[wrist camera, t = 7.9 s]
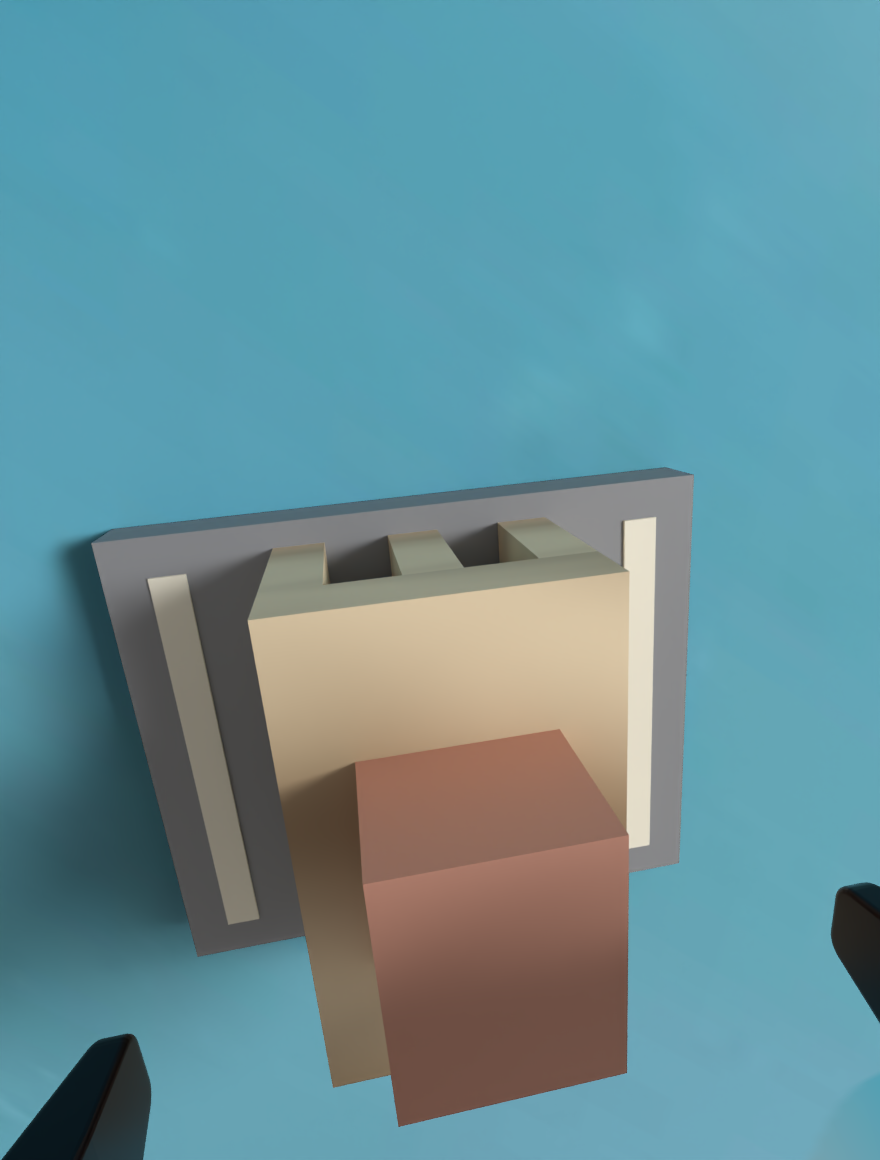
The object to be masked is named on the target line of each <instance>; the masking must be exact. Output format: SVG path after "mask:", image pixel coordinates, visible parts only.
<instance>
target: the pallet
mask: <svg viewBox="0 0 880 1160" xmlns="http://www.w3.org/2000/svg"><path fill="white" fill-rule="evenodd" d="M498 542H499V561H500V563H497V564H489V565H481V566H473V567H465V568H464V567H463V565H462V564H461V563H460V561H459V560H458V558H457V557H456V556H455V554H454V553H453V551H452V550H451V549H450V547H449V546H448V544H447V543H446V542H445V540H444V539H443V537H442V536H441V534H440V533H439V532H438V530H429V531H420V532H412V533H403V534H394V535H388V544H389V553H390V562H391V572H392V577H384V578H376V579H367V580H359V581H351V582H343V583H335V584H330V579H329V572H328V565H327V558H326V550H325V543H316V544H307V545H298V546H290V547H281V548H273V549H272V552H271V555H270V558H269V561H268V563H267V566H266V569H265V572H264V575H263V578H262V581H261V583H260V586H259V589H258V592H257V595H256V598H255V601H254V603H253V606H252V609H251V612H250V615H249V618H248V626H249V631H250V636H251V642H252V647H253V653H254V658H255V664H256V669H257V675H258V680H259V686H260V691H261V696H262V702H263V707H264V713H265V718H266V724H267V729H268V735H269V740H270V746H271V751H272V757H273V762H274V767H275V773H276V778H277V784H278V789H279V795H280V800H281V806H282V811H283V817H284V822H285V827H286V833H287V838H288V844H289V849H290V855H291V860H292V866H293V871H294V877H295V882H296V888H297V893H298V898H299V904H300V909H301V915H302V920H303V926H304V931H305V937H306V942H307V948H308V953H309V958H310V964H311V969H312V975H313V980H314V986H315V991H316V997H317V1002H318V1008H319V1013H320V1019H321V1024H322V1029H323V1035H324V1040H325V1046H326V1051H327V1057H328V1062H329V1068H330V1073H331V1079H332V1084H333V1088H334V1087H338V1086H343V1085H347V1084H352V1083H356V1082H361V1081H365V1080H370V1079H374V1078H379V1077H383V1076H388V1075H391V1072H390V1065H389V1059H388V1052H387V1045H386V1039H385V1032H384V1025H383V1018H382V1012H381V1005H380V998H379V991H378V985H377V978H376V971H375V964H374V958H373V951H372V944H371V937H370V931H369V924H368V917H367V911H366V904H365V897H364V890H363V882H362V866H361V850H360V834H359V817H358V801H357V785H356V769H355V762H359V761H365V760H372V759H378V758H384V757H390V756H396V755H402V754H409V753H415V752H421V751H427V750H433V749H439V748H446V747H452V746H458V745H464V744H470V743H476V742H483V741H489V740H495V739H501V738H507V737H513V736H520V735H526V734H532V733H538V732H544V731H550V730H557V729H560V730H561V732H562V734H563V735H564V737H565V738H566V740H567V741H568V743H569V744H570V746H571V747H572V749H573V750H574V752H575V753H576V755H577V756H578V758H579V759H580V761H581V763H582V764H583V766H584V767H585V769H586V770H587V772H588V773H589V775H590V776H591V778H592V779H593V781H594V782H595V784H596V785H597V787H598V788H599V790H600V792H601V793H602V795H603V796H604V798H605V799H606V801H607V802H608V804H609V805H610V807H611V808H612V810H613V811H614V813H615V814H616V816H617V817H618V819H619V821H620V822H621V824H622V825H623V827H624V828H625V830H626V831H627V746H628V660H629V574H630V571H628V570H626V569H625V568H623V567H622V566H620V565H619V564H617V563H616V562H614V561H612V560H611V559H609V558H608V557H606V556H605V555H603V554H601V553H600V552H598V551H597V550H595V549H594V548H592V547H591V546H589V545H587V544H586V543H584V542H583V541H581V540H580V539H578V538H576V537H575V536H573V535H572V534H570V533H569V532H567V531H566V530H564V529H562V528H561V527H559V526H558V525H556V524H555V523H553V522H551V521H550V520H548V519H547V518H545V517H542V518H533V519H525V520H516V521H507V522H499V523H498Z"/></svg>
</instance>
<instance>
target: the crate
mask: <svg viewBox="0 0 880 1160" xmlns="http://www.w3.org/2000/svg"><path fill="white" fill-rule="evenodd" d="M355 769H356V785H357V801H358V817H359V834H360V850H361V866H362V882H363V890H364V897H365V904H366V911H367V917H368V924H369V931H370V937H371V944H372V951H373V958H374V964H375V971H376V978H377V985H378V991H379V998H380V1005H381V1012H382V1018H383V1025H384V1032H385V1039H386V1045H387V1052H388V1059H389V1065H390V1072H391V1079H392V1086H393V1092H394V1099H395V1106H396V1113H397V1119H398V1126H399V1127H400V1126H404V1125H408V1124H412V1123H417V1122H421V1121H425V1120H429V1119H434V1118H438V1117H442V1116H446V1115H451V1114H455V1113H459V1112H463V1111H468V1110H472V1109H476V1108H480V1107H485V1106H489V1105H493V1104H497V1103H502V1102H506V1101H510V1100H514V1099H519V1098H523V1097H527V1096H531V1095H535V1094H540V1093H544V1092H548V1091H552V1090H557V1089H561V1088H565V1087H569V1086H574V1085H578V1084H582V1083H586V1082H591V1081H595V1080H599V1079H603V1078H608V1077H612V1076H616V1075H620V1074H625V1073H627V1005H628V894H629V834H628V833H627V831H626V830H625V828H624V827H623V825H622V824H621V822H620V821H619V819H618V817H617V816H616V814H615V813H614V811H613V810H612V808H611V807H610V805H609V804H608V802H607V801H606V799H605V798H604V796H603V795H602V793H601V792H600V790H599V788H598V787H597V785H596V784H595V782H594V781H593V779H592V778H591V776H590V775H589V773H588V772H587V770H586V769H585V767H584V766H583V764H582V763H581V761H580V759H579V758H578V756H577V755H576V753H575V752H574V750H573V749H572V747H571V746H570V744H569V743H568V741H567V740H566V738H565V737H564V735H563V734H562V732H561V730H560V729H557V730H550V731H544V732H538V733H532V734H526V735H520V736H513V737H507V738H501V739H495V740H489V741H483V742H476V743H470V744H464V745H458V746H452V747H446V748H439V749H433V750H427V751H421V752H415V753H409V754H402V755H396V756H390V757H384V758H378V759H372V760H365V761H359V762H355Z"/></svg>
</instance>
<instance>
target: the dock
mask: <svg viewBox="0 0 880 1160" xmlns="http://www.w3.org/2000/svg"><path fill="white" fill-rule="evenodd" d="M693 481H694V475H693V474H689V473H685V472H681V471H677V470H674V469H670V468H657V469H648V470H639V471H630V472H621V473H612V474H603V475H594V476H585V477H576V478H567V479H558V480H549V481H540V482H531V483H522V484H513V485H504V486H495V487H486V488H477V489H468V490H459V491H450V492H441V493H432V494H424V495H415V496H406V497H397V498H388V499H379V500H370V501H361V502H352V503H343V504H334V505H325V506H316V507H307V508H298V509H289V510H280V511H271V512H262V513H253V514H244V515H235V516H226V517H217V518H208V519H199V520H190V521H181V522H173V523H164V524H155V525H146V526H137V527H128V528H119V529H112V530H110V531H109V532H107V533H106V534H104V535H103V536H101V537H100V538H98V539H97V540H95V541H94V542H92V543H91V544H92V548H93V552H94V556H95V560H96V564H97V568H98V572H99V576H100V579H101V583H102V587H103V591H104V595H105V599H106V603H107V607H108V610H109V614H110V618H111V622H112V626H113V630H114V634H115V638H116V642H117V645H118V649H119V653H120V657H121V661H122V665H123V669H124V673H125V676H126V680H127V684H128V688H129V692H130V696H131V700H132V704H133V708H134V711H135V715H136V719H137V723H138V727H139V731H140V735H141V739H142V742H143V746H144V750H145V754H146V758H147V762H148V766H149V770H150V774H151V777H152V781H153V785H154V789H155V793H156V797H157V801H158V805H159V808H160V812H161V816H162V820H163V824H164V828H165V832H166V836H167V840H168V843H169V847H170V851H171V855H172V859H173V863H174V867H175V871H176V874H177V878H178V882H179V886H180V890H181V894H182V898H183V902H184V906H185V909H186V913H187V917H188V921H189V925H190V929H191V933H192V937H193V940H194V944H195V948H196V952H197V956H204V955H209V954H214V953H219V952H224V951H229V950H234V949H240V948H245V947H250V946H255V945H260V944H265V943H270V942H276V941H281V940H286V939H291V938H296V937H301V936H305V931H304V926H303V920H302V915H301V909H300V904H299V898H298V893H297V888H296V882H295V877H294V871H293V866H292V860H291V855H290V849H289V844H288V838H287V833H286V827H285V822H284V817H283V811H282V806H281V800H280V795H279V789H278V784H277V778H276V773H275V767H274V762H273V757H272V751H271V746H270V740H269V735H268V729H267V724H266V718H265V713H264V707H263V702H262V696H261V691H260V686H259V680H258V675H257V669H256V664H255V658H254V653H253V647H252V642H251V636H250V631H249V626H248V618H249V615H250V612H251V609H252V606H253V603H254V601H255V598H256V595H257V592H258V589H259V586H260V583H261V581H262V578H263V575H264V572H265V569H266V566H267V563H268V561H269V558H270V555H271V552H272V549H273V548H281V547H290V546H298V545H307V544H316V543H325V550H326V558H327V565H328V572H329V579H330V584H335V583H343V582H351V581H359V580H367V579H376V578H384V577H392V572H391V562H390V553H389V544H388V535H394V534H403V533H412V532H420V531H429V530H438V532H439V533H440V534H441V536H442V537H443V539H444V540H445V542H446V543H447V544H448V546H449V547H450V549H451V550H452V551H453V553H454V554H455V556H456V557H457V558H458V560H459V561H460V563H461V564H462V565H463V567H464V568H465V567H473V566H481V565H489V564H497V563H500V561H499V542H498V523H499V522H507V521H516V520H525V519H533V518H542V517H545V518H547V519H548V520H550V521H551V522H553V523H555V524H556V525H558V526H559V527H561V528H562V529H564V530H566V531H567V532H569V533H570V534H572V535H573V536H575V537H576V538H578V539H580V540H581V541H583V542H584V543H586V544H587V545H589V546H591V547H592V548H594V549H595V550H597V551H598V552H600V553H601V554H603V555H605V556H606V557H608V558H609V559H611V560H612V561H614V562H616V563H617V564H619V565H620V566H622V567H623V568H625V569H626V570H628V571H630V574H629V660H628V746H627V833H628V834H629V873H630V872H635V871H640V870H646V869H651V868H656V867H661V866H666V865H671V864H676V863H679V851H680V824H681V798H682V771H683V745H684V719H685V692H686V666H687V640H688V613H689V587H690V560H691V534H692V508H693Z"/></svg>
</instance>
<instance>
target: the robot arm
mask: <svg viewBox="0 0 880 1160" xmlns="http://www.w3.org/2000/svg"><path fill="white" fill-rule="evenodd" d="M831 939H832V943H833V946H834V949H835V951H836V953H837V955H838V957H839V959H840V960H841V962H842V963H843V965H844V967H845V968H846V970H847V971H848V973H849V975H850V976H851V978H852V979H853V981H854V983H855V984H856V986H857V987H858V989H859V991H860V992H861V994H862V995H863V997H864V999H865V1000H866V1002H867V1003H868V1005H869V1007H870V1008H871V1010H872V1011H873V1013H874V1015H875V1016H876V1018H877V1019H878V1021H879V1023H880V887H879V886H877V885H875V884H872V883H859V884H854V885H849V886H844V887H842V888H840V889H839V890H838V891H837V894H836V898H835V906H834V913H833V920H832V928H831ZM150 1106H151V1084H150V1079H149V1076H148V1073H147V1069H146V1066H145V1063H144V1060H143V1057H142V1053H141V1050H140V1047H139V1044H138V1041H137V1039H136V1037H135V1036H134V1035H132V1034H123V1035H118V1036H113V1037H108V1038H104V1039H101V1040H98V1041H97V1042H95V1043H94V1044H93V1045H92V1046H91V1047H90V1048H89V1049H88V1050H87V1051H86V1053H85V1054H84V1055H83V1056H82V1058H81V1059H80V1060H79V1062H78V1063H77V1064H76V1065H75V1067H74V1068H73V1069H72V1071H71V1072H70V1073H69V1074H68V1076H67V1077H66V1078H65V1079H64V1081H63V1082H62V1083H61V1085H60V1086H59V1087H58V1088H57V1090H56V1091H55V1092H54V1093H53V1095H52V1096H51V1097H50V1099H49V1100H48V1101H47V1102H46V1104H45V1105H44V1106H43V1107H42V1109H41V1110H40V1111H39V1113H38V1114H37V1115H36V1116H35V1118H34V1119H33V1120H32V1121H31V1123H30V1124H29V1125H28V1127H27V1128H26V1129H25V1130H24V1132H23V1133H22V1134H21V1135H20V1137H19V1138H18V1139H17V1141H16V1142H15V1143H14V1144H13V1146H12V1147H11V1148H10V1149H9V1151H8V1152H7V1153H6V1155H5V1156H4V1157H3V1158H2V1160H143V1156H144V1149H145V1142H146V1135H147V1128H148V1121H149V1114H150Z"/></svg>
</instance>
